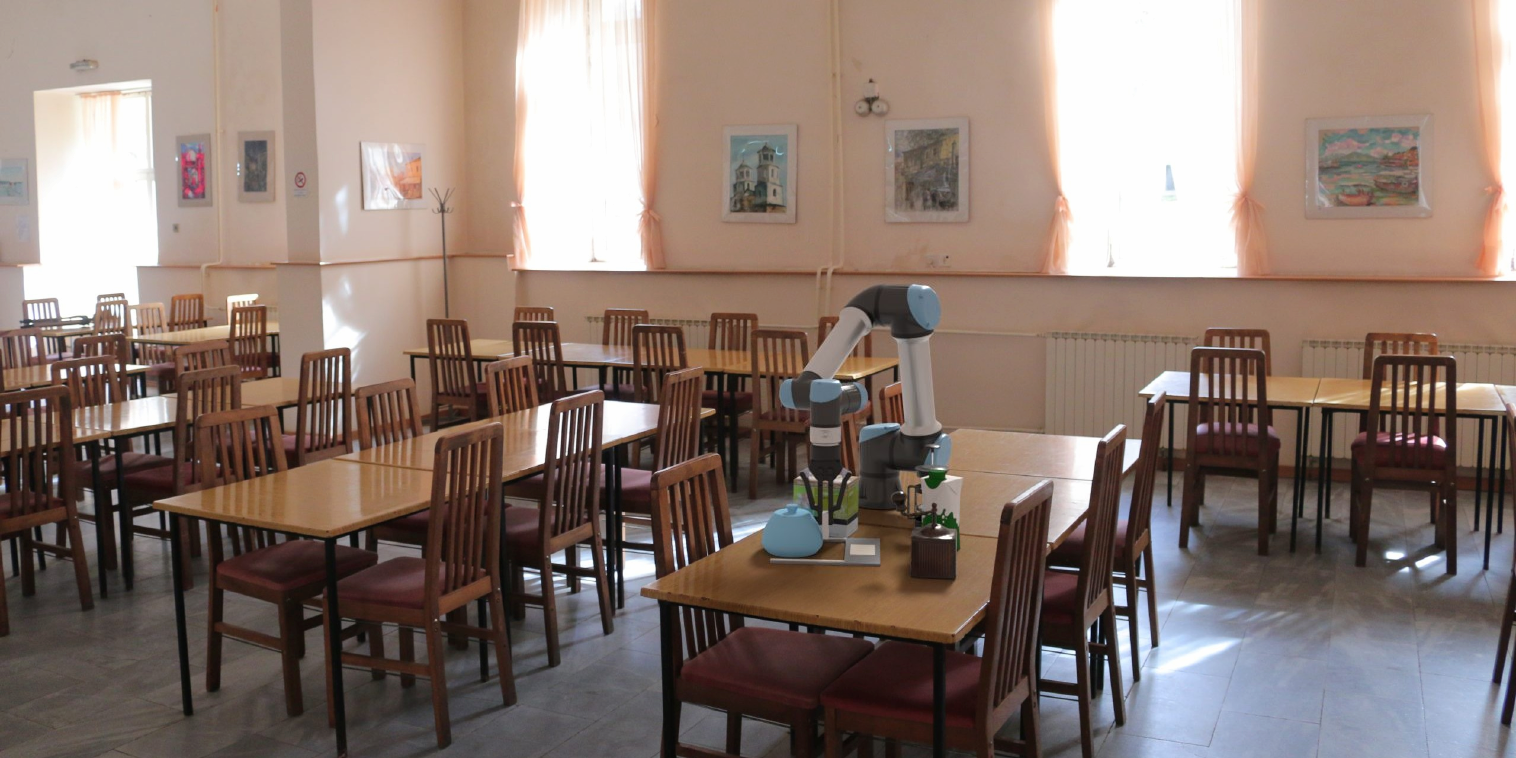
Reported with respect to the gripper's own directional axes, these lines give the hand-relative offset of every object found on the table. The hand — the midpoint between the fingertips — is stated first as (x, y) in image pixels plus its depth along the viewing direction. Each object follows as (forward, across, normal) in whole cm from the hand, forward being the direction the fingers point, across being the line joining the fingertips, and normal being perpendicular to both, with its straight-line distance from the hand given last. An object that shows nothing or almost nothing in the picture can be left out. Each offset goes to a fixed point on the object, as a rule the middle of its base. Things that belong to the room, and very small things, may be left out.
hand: (825, 537), depth 285 cm
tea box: (+4, 0, +19) cm, 19 cm away
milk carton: (+4, +28, +5) cm, 29 cm away
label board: (+3, +1, 0) cm, 4 cm away
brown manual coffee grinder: (+4, +23, -15) cm, 28 cm away
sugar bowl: (+4, -8, 0) cm, 9 cm away
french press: (+4, +26, +22) cm, 35 cm away
